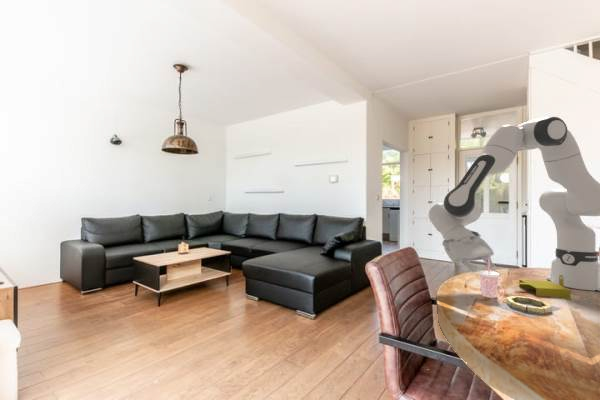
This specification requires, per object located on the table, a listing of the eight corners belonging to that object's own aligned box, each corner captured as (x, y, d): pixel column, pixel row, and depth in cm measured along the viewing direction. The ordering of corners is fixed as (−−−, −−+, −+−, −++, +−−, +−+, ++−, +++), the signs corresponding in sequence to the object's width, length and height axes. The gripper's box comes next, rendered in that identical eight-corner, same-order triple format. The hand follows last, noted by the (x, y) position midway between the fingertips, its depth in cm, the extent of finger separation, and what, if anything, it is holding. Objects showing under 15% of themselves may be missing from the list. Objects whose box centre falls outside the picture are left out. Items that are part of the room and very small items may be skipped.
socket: (519, 299, 96) (519, 294, 96) (557, 310, 86) (557, 304, 86) (500, 304, 91) (500, 299, 91) (538, 316, 82) (538, 310, 82)
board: (524, 300, 97) (524, 297, 97) (561, 311, 88) (561, 308, 88) (495, 308, 90) (495, 305, 90) (532, 321, 81) (532, 317, 81)
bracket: (503, 268, 113) (547, 269, 110) (503, 287, 113) (547, 289, 110) (527, 279, 98) (578, 281, 95) (527, 301, 98) (578, 304, 95)
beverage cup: (474, 295, 103) (474, 256, 103) (490, 294, 103) (490, 256, 103) (487, 301, 97) (487, 260, 96) (504, 300, 97) (504, 260, 97)
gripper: (445, 235, 104) (471, 268, 95) (481, 232, 112) (507, 262, 103) (435, 245, 108) (459, 277, 99) (470, 241, 116) (495, 271, 107)
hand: (484, 269), depth 101 cm, fingers open, 8 cm apart
